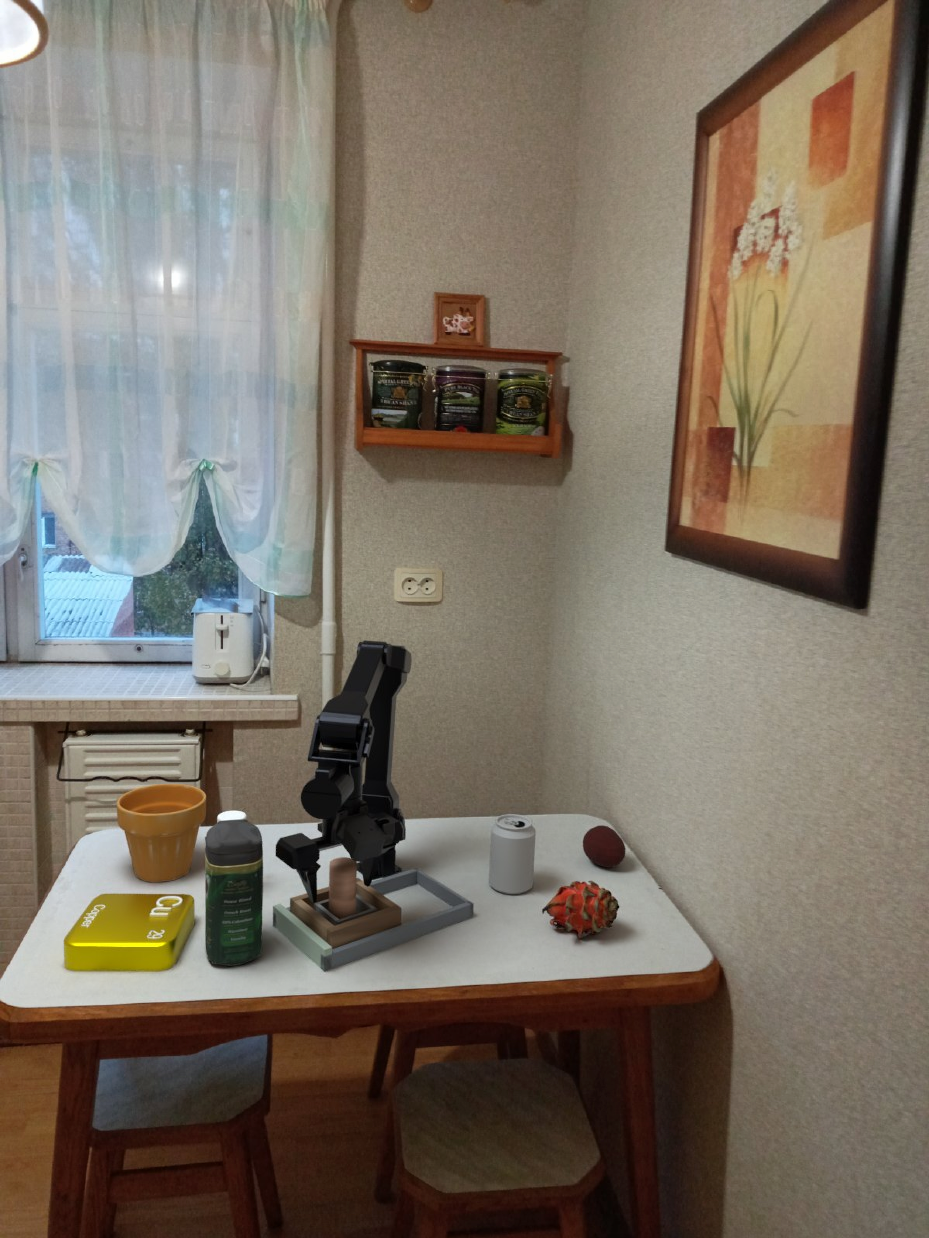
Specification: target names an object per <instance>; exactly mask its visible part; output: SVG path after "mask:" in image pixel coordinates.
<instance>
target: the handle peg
mask: <svg viewBox="0 0 929 1238" xmlns="http://www.w3.org/2000/svg"><path fill="white" fill-rule="evenodd" d="M328 863H329V865H328V869H329V871H328V875H329V876H328V884H329V885H328V887H329V912H330V913H332V914H333V915H334V916H335V917H337V918H338V919H342V918H345V917H348V916H351V915H354V914H356V878H358V877H357V874H358V873H357V872H358V871H357V863H358V862H356V861H354V860H352V859H351V857H342V856H341V857H337V858H333V859H331V860H330V861H329V862H328Z"/></svg>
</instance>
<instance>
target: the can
mask: <svg viewBox="0 0 929 1238" xmlns="http://www.w3.org/2000/svg"><path fill="white" fill-rule="evenodd" d="M494 822H495V823H494V824H492V826H491V829H490V843H489V844H490V846H489V848H490V849H489V864H488V865H489V867H488V868H489V869H488V884H489V886H490V887H491V888H492V889H494V890H495V891H497V892H499V893H501V894H505V895H520V894H523V893H526V892H527V891H529V890H531V889H532V887H533V885H534V870H535V869H534V868H535V853H536V850H535V849H536V836H537V835H536V834H537V831H536V828H535V827H534V826H533V820H531V818H529V817H527V816H525V815H522V814H517V813H516V814H515V813H508V814H507V813H506V814H502V815H500V816H499V815H498V816H497V817H496V818H495V821H494Z"/></svg>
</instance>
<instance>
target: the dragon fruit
mask: <svg viewBox="0 0 929 1238" xmlns="http://www.w3.org/2000/svg"><path fill="white" fill-rule="evenodd" d="M587 882H588V883H589V884H588V883H587ZM587 882H586V881H582V882H581V881H578V880H575V881H572V882H570V884H569V885H563V886H560V887H559V888H558V890H557V892H556V894H555V895H554V896H553V897H551V900H550V901H549V902H548V903H547V904H546V906H544V907H543V908H542V911H541V914H542V915H544V914H545V913H546V914H548V915H549V917H553V918H551V919H550V920H549V924H550V925H551V926H552V927H555V928H556V929H558V930H561V931H562V930H564V929H565V930H566V932H570V931H577V932H578V933H577V935H578V936H577V937H579V939H582V938H584V937H587V936H589V935H590V934H592V935H596V934H598V932H602V929H603V928H605V929H609V930H610V929H611V928H614V927H613V923H614V921H615V920H616V919H617V918H618V911H619V909H620V907H621V906H620V905H619V900H617V899H616V897H615V896H613V895H612V891H610V890H609V889H606V888H605V887H600V885H599V884H598V883H597V882H595V881H593V880H588V881H587ZM611 924H612V925H611Z"/></svg>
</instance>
